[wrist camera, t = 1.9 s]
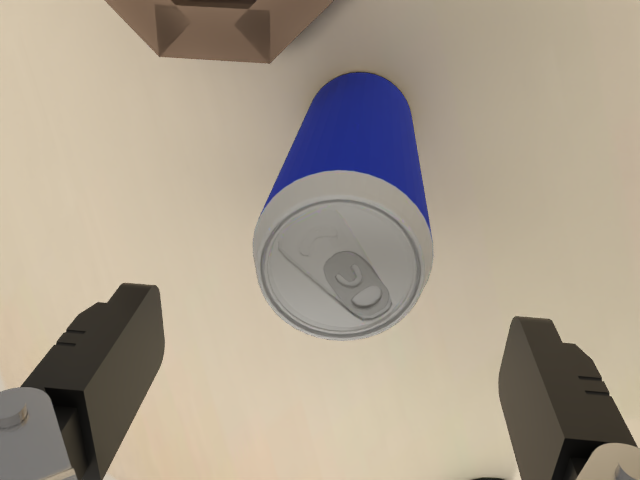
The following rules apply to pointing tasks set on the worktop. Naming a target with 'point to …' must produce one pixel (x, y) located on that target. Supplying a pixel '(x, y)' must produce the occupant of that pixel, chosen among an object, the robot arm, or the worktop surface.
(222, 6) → the collar
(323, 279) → the beverage can
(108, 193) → the worktop surface
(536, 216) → the worktop surface
